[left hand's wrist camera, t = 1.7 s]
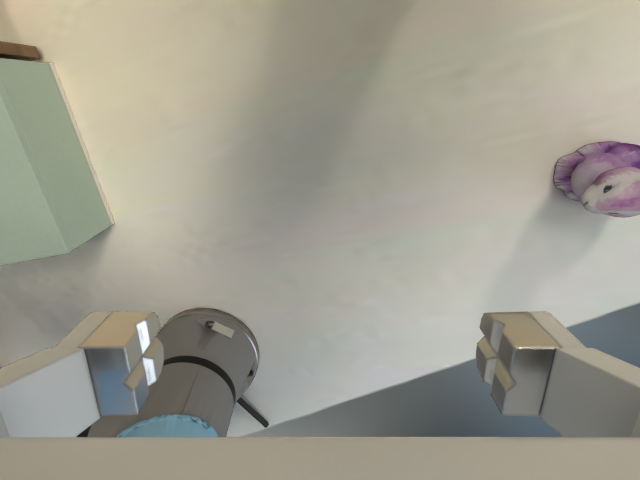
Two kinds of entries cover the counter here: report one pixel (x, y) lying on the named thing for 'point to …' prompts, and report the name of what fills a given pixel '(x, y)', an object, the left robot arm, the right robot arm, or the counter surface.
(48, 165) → the cabinet
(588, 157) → the figurine
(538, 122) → the counter surface
